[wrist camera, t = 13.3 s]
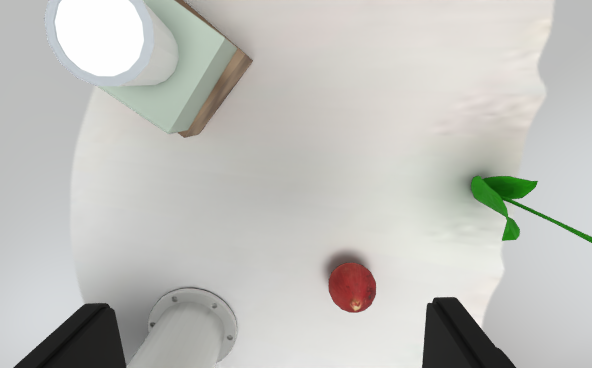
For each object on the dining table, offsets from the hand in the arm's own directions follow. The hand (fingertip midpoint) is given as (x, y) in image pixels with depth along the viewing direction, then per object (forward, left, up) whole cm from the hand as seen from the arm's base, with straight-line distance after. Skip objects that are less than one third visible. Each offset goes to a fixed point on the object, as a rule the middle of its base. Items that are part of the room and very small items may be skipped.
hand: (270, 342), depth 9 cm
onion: (-7, -15, -31) cm, 35 cm away
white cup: (+1, +17, -21) cm, 27 cm away
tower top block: (0, +17, -26) cm, 31 cm away
